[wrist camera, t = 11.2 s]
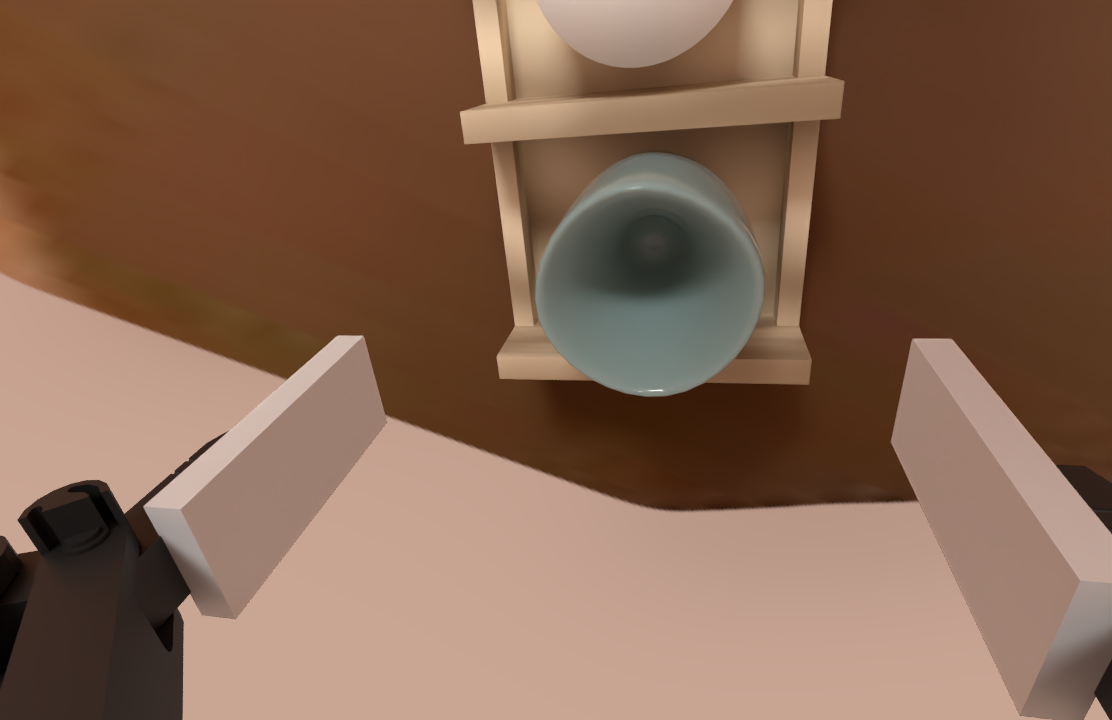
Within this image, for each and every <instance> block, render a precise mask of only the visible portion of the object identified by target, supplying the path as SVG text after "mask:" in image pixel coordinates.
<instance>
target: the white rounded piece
mask: <svg viewBox="0 0 1112 720" xmlns="http://www.w3.org/2000/svg"><path fill="white" fill-rule="evenodd" d="M536 1H537V4H538V6H539V8H540V9H541V11H542V13H543V15H544V17H545V18H546V20H547V21H548V23H549V24H550V26H551V27H552V29H553V30H554V31H555V32H556V33H557V34H558V35H559V36H560V38H561V39H562V40H563V41H564V42H566V43H567V44H568V45H569V46H570V47H572V48H573V49H574V50H575V51H577V52H579V53H580V54H582V55H583V56H585V57H587V58H589V59H592V60H594V61H596V62H598V63H602V64H606V65H609V66H614V67H622V68H639V67H645V66H651V65H655V64H658V63H661V62H665V61H667V60H669V59H672V58H674V57H676V56H678V55H680V54H682V53H683V52H685V51H686V50H688V49H690V48H691V47H693V46H694V45H695V44H696V43H698V42H699V41H700V40H701V39H702V38H704V37H705V36H706V35H707V34H708V33H709V32H710V31H711V30H712V29H713V28H714V27H715V26H716V24H717V23H718V22H719V21H720V19H721V18H722V17H723V15H724V14H725V13H726V11H727V10H728V8H729V7H730V5H731V3H732V2H733V0H536Z"/></svg>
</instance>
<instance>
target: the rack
mask: <svg viewBox="0 0 1112 720" xmlns="http://www.w3.org/2000/svg"><path fill="white" fill-rule="evenodd" d="M832 2H833V0H733V2H732V3H731V5H730V7H729V8H728V10H727V11H726V13H725V14H724V15H723V17H722V18H721V19H720V21H719V22H718V23H717V24H716V26H715V27H714V28H713V29H712V30H711V31H710V32H709V33H708V34H707V35H706V36H705V37H704V38H702V39H701V40H700V41H699V42H698V43H696V44H695V45H694V46H693V47H691V48H690V49H688V50H686V51H685V52H683V53H682V54H680V55H678V56H676V57H674V58H672V59H669V60H667V61H665V62H661V63H658V64H655V65H651V66H645V67H639V68H622V67H614V66H609V65H606V64H602V63H598V62H596V61H594V60H592V59H589V58H587V57H585V56H583V55H582V54H580V53H579V52H577V51H575V50H574V49H573V48H572V47H570V46H569V45H568V44H567V43H566V42H564V41H563V40H562V39H561V38H560V36H559V35H558V34H557V33H556V32H555V31H554V30H553V29H552V27H551V26H550V24H549V23H548V21H547V20H546V18H545V17H544V15H543V13H542V11H541V9H540V8H539V6H538V4H537V1H536V0H473V8H474V15H475V23H476V31H477V38H478V46H479V53H480V61H481V69H482V76H483V84H484V92H485V99H486V104H484V105H481V106H477V107H474V108H471V109H468V110H465V111H462V112H460V116H461V123H462V130H463V136H464V143H465V144H475V143H489V142H491V145H492V153H493V161H494V168H495V176H496V184H497V191H498V199H499V206H500V214H501V222H502V229H503V237H504V245H505V252H506V260H507V268H508V275H509V283H510V291H511V298H512V306H513V314H514V321H515V327H514V329H513V330H512V332H511V334H510V335H509V337H508V339H507V340H506V342H505V344H504V345H503V347H502V349H501V350H500V352H499V353H498V355H497V363H498V370H499V377H500V379H538V380H592V379H590V378H588V377H587V376H585V375H584V374H582V373H581V372H580V371H578V370H577V369H575V368H574V367H573V366H571V365H570V364H569V363H568V362H567V361H566V360H565V359H564V358H563V357H562V356H561V355H560V354H559V353H558V352H557V351H556V350H555V348H554V347H553V345H552V344H551V342H550V341H549V340H548V338H547V337H546V335H545V333H544V331H543V328H542V326H541V324H540V322H539V319H538V315H537V309H536V304H535V286H536V275H537V271H538V268H539V264H540V260H541V256H542V254H543V252H544V249H545V247H546V245H547V243H548V241H549V239H550V237H551V235H552V233H553V231H554V229H555V228H556V226H557V225H558V223H559V222H560V220H561V219H562V218H563V216H564V215H565V213H566V212H567V211H568V209H569V208H570V206H571V205H572V204H573V202H574V201H575V199H576V198H577V197H578V195H579V194H580V193H581V192H582V190H583V189H584V188H585V187H586V186H587V185H588V184H589V183H590V182H591V181H592V180H593V179H594V178H595V177H596V176H597V175H599V174H600V173H601V172H602V171H603V170H605V169H606V168H608V167H609V166H611V165H612V164H614V163H615V162H617V161H618V160H620V159H622V158H625V157H627V156H630V155H633V154H635V153H639V152H647V151H655V150H656V151H666V152H674V153H677V154H680V155H683V156H686V157H689V158H692V159H693V160H695V161H697V162H699V163H701V164H703V165H705V166H706V167H708V168H709V169H710V170H712V171H713V172H714V173H715V174H717V175H718V176H719V177H720V178H722V179H723V180H724V182H725V183H726V184H727V185H728V186H729V187H730V189H731V190H732V191H733V192H734V193H735V195H736V196H737V197H738V199H739V201H740V203H741V205H742V206H743V208H744V210H745V212H746V214H747V216H748V217H749V220H750V222H751V224H752V227H753V230H754V233H755V236H756V239H757V243H758V246H759V250H760V254H761V257H762V261H763V265H764V269H765V299H764V302H763V306H762V310H761V314H760V318H759V321H758V323H757V325H756V327H755V329H754V331H753V333H752V335H751V337H750V339H749V341H748V342H747V343H746V345H745V346H744V347H743V349H742V350H741V351H740V353H739V354H738V355H737V357H736V358H735V359H734V360H733V361H732V362H731V363H729V364H728V365H727V366H726V367H725V368H724V369H723V370H722V371H721V372H720V373H718V374H717V375H715V376H714V377H712V378H711V379H709V380H708V381H707V382H705V383H752V384H805V385H809V379H810V371H811V362H812V359H811V357H810V354H809V351H808V349H807V346H806V343H805V341H804V338H803V335H802V333H801V330H800V327H799V320H800V311H801V301H802V292H803V282H804V272H805V263H806V253H807V243H808V234H809V224H810V214H811V205H812V195H813V185H814V176H815V166H816V157H817V147H818V137H819V128H820V120H825V119H839V118H840V115H841V107H842V98H843V90H844V81H842V80H839V79H835V78H832V77H828V76H825V70H826V60H827V50H828V41H829V31H830V22H831V12H832ZM592 381H594V380H592Z"/></svg>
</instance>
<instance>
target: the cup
mask: <svg viewBox="0 0 1112 720" xmlns="http://www.w3.org/2000/svg"><path fill="white" fill-rule="evenodd" d="M764 299H765V269H764V265H763V261H762V257H761V254H760V250H759V246H758V243H757V239H756V236H755V233H754V230H753V227H752V224H751V222H750V220H749V217H748V216H747V214H746V212H745V210H744V208H743V206H742V205H741V203H740V201H739V199H738V197H737V196H736V195H735V193H734V192H733V191H732V190H731V189H730V187H729V186H728V185H727V184H726V183H725V182H724V180H723V179H722V178H720V177H719V176H718V175H717V174H715V173H714V172H713V171H712V170H710V169H709V168H708V167H706V166H705V165H703V164H701V163H699V162H697V161H695V160H693V159H692V158H689V157H686V156H683V155H680V154H677V153H674V152H666V151H656V150H655V151H647V152H639V153H635V154H633V155H630V156H627V157H625V158H622V159H620V160H618V161H617V162H615V163H614V164H612V165H611V166H609V167H608V168H606V169H605V170H603V171H602V172H601V173H600V174H599V175H597V176H596V177H595V178H594V179H593V180H592V181H591V182H590V183H589V184H588V185H587V186H586V187H585V188H584V189H583V190H582V192H581V193H580V194H579V195H578V197H577V198H576V199H575V201H574V202H573V204H572V205H571V206H570V208H569V209H568V211H567V212H566V213H565V215H564V216H563V218H562V219H561V220H560V222H559V223H558V225H557V226H556V228H555V229H554V231H553V233H552V235H551V237H550V239H549V241H548V243H547V245H546V247H545V249H544V252H543V254H542V256H541V260H540V264H539V268H538V271H537V275H536V286H535V304H536V309H537V315H538V319H539V322H540V324H541V326H542V328H543V331H544V333H545V335H546V337H547V338H548V340H549V341H550V342H551V344H552V345H553V347H554V348H555V350H556V351H557V352H558V353H559V354H560V355H561V356H562V357H563V358H564V359H565V360H566V361H567V362H568V363H569V364H570V365H571V366H573V367H574V368H575V369H577V370H578V371H580V372H581V373H582V374H584V375H585V376H587V377H588V378H590V379H592V380H594V381H596V382H598V383H600V384H602V385H604V386H606V387H608V388H611V389H614V390H617V391H620V392H623V393H626V394H632V395H638V396H644V397H655V396H669V395H673V394H678V393H682V392H686V391H688V390H690V389H692V388H695V387H697V386H699V385H701V384H704V383H705V382H707V381H708V380H709V379H711V378H712V377H714V376H715V375H717V374H718V373H720V372H721V371H722V370H723V369H724V368H725V367H726V366H727V365H728V364H729V363H731V362H732V361H733V360H734V359H735V358H736V357H737V355H738V354H739V353H740V351H741V350H742V349H743V347H744V346H745V345H746V343H747V342H748V341H749V339H750V337H751V335H752V333H753V331H754V329H755V327H756V325H757V323H758V321H759V318H760V314H761V310H762V306H763V302H764Z"/></svg>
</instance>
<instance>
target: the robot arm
mask: <svg viewBox="0 0 1112 720" xmlns="http://www.w3.org/2000/svg"><path fill="white" fill-rule="evenodd" d="M386 423H387V421H386V417H385V413H384V409H383V406H382V402H381V398H380V395H379V391H378V387H377V383H376V380H375V376H374V372H373V369H372V365H371V361H370V358H369V354H368V350H367V346H366V343H365V339H364V336H337V337H336V338H335V339H333V340H332V341H331V342H330V343H329V344H328V345H327V346H325V347H324V348H323V349H322V350H321V351H320V352H319V353H317V354H316V355H315V356H314V357H313V358H312V359H311V360H309V361H308V362H307V363H306V364H305V365H304V366H303V367H301V368H300V369H299V370H298V371H297V372H296V373H295V374H293V375H292V376H291V377H290V378H289V379H288V380H287V381H285V383H283V384H282V385H281V386H280V387H279V388H278V389H276V390H275V391H274V392H273V393H272V394H271V395H270V396H268V397H267V398H266V399H265V400H264V401H263V402H262V403H260V404H259V405H258V406H257V407H256V408H255V409H254V410H252V411H251V412H250V413H249V414H248V415H247V416H246V417H244V419H242V420H241V421H240V422H239V423H238V424H237V425H235V426H234V427H233V428H232V429H231V430H229V431H228V432H226V433H224V434H222V435H220V436H219V437H217V438H215V439H213V440H211V441H210V442H208V443H206V444H205V445H204V446H203V447H202V448H200V449H199V450H198V451H197V452H196V453H195V454H193V455H192V456H191V457H190V458H189V461H188V462H187V461H186V462H184V463H183V464H182V465H181V466H180V467H179V468H177V469H176V470H175V473H174V474H170V475H169V476H168V477H167V478H166V479H165V480H163V481H162V482H161V483H160V484H159V485H158V486H156V487H155V488H154V489H153V490H152V491H151V492H149V493H148V494H147V495H146V496H145V497H144V498H142V499H141V500H140V501H139V502H138V503H137V504H136V505H134V506H133V507H132V508H131V509H130V510H129V511H127V512H126V513H125V514H124V513H123V511H122V509H121V508H120V506H119V504H118V502H117V501H116V499H115V497H114V495H113V493H112V492H111V490H110V488H109V486H108V485H107V483H105V482H102V481H100V480H86V481H81V482H78V483H73V484H69V485H67V486H65V487H62V488H59V489H57V490H54V491H52V492H50V493H49V494H47V495H45V496H43V497H42V498H40V499H38V500H37V501H35V502H34V503H33V504H32V505H30V506H29V507H28V508H27V509H26V510H24V512H23V513H22V514H21V516H20V517H19V519H18V522H19V523H20V524H21V525H22V527H23V529H24V530H25V532H26V533H27V535H28V536H29V538H30V539H31V541H32V542H33V543H34V545H35V546H36V548H37V549H38V551H34V552H27V553H21V554H17V553H16V552H15V550H14V549H13V548H12V546H11V545H10V543H9V542H8V540H7V539H6V538H5V537H3V536H0V720H182V713H183V626H184V625H183V624H184V622H183V619H182V616H181V614H180V612H179V610H178V606H179V605H180V604H181V603H182V602H183V601H184V600H185V599H186V597H187V596H188V595H189V594H191V596H192V598H193V600H194V602H195V603H196V605H197V607H198V609H199V611H200V612H201V614H202V615H205V616H213V617H222V618H230V619H236V618H237V617H238V615H239V614H240V613H241V612H242V611H243V609H244V608H245V607H246V605H247V604H248V603H249V601H250V600H251V599H252V598H253V596H254V595H255V594H256V592H257V591H258V590H259V588H260V587H261V586H262V585H263V583H264V582H265V581H266V579H267V578H268V576H269V575H270V574H271V573H272V571H273V570H274V569H275V567H276V566H277V565H278V564H279V562H280V561H281V560H282V558H283V557H284V556H285V555H286V553H287V552H288V551H289V549H290V548H291V547H292V545H293V544H294V543H295V542H296V540H297V539H298V538H299V536H300V535H301V534H302V532H303V531H304V530H305V528H306V527H307V526H308V525H309V523H310V522H311V521H312V519H313V518H314V517H315V516H316V514H317V513H318V512H319V510H320V509H321V508H322V506H323V505H324V504H325V503H326V501H327V500H328V499H329V497H330V496H331V495H332V493H333V492H334V491H335V490H336V488H337V487H338V485H339V484H340V483H341V482H342V480H343V479H344V478H345V476H346V475H347V474H348V473H349V471H350V470H351V469H352V467H353V466H354V465H355V463H356V462H357V461H358V460H359V458H360V457H361V456H362V454H363V453H364V452H365V450H366V449H367V448H368V447H369V445H370V444H371V443H372V441H373V440H374V439H375V437H376V436H377V435H378V434H379V432H380V431H381V430H382V428H383V427H384V426H385V424H386ZM891 443H892V446H893V448H894V450H895V452H896V454H897V456H898V458H899V460H900V463H901V465H902V467H903V469H904V471H905V473H906V475H907V477H908V479H909V482H910V484H911V486H912V488H913V490H914V492H915V494H916V496H917V499H918V501H919V503H920V505H921V507H922V509H923V511H924V513H925V516H926V518H927V520H928V522H929V524H930V526H931V528H932V530H933V532H934V535H935V537H936V539H937V541H938V543H939V545H940V547H941V549H942V552H943V554H944V556H945V558H946V560H947V562H948V564H949V566H950V568H951V571H952V573H953V575H954V577H955V579H956V581H957V583H958V586H959V588H960V590H961V592H962V594H963V596H964V598H965V600H966V603H967V605H968V607H969V609H970V611H971V613H972V615H973V617H974V620H975V622H976V624H977V626H978V628H979V630H980V632H981V634H982V636H983V639H984V641H985V643H986V645H987V647H988V649H989V651H990V653H991V656H992V658H993V660H994V662H995V664H996V666H997V668H998V670H999V672H1000V674H1001V676H1002V679H1003V681H1004V683H1005V685H1006V687H1007V690H1008V692H1009V694H1010V696H1011V698H1012V700H1013V702H1014V704H1015V706H1016V709H1017V711H1018V713H1019V715H1020V716H1027V717H1036V718H1043V719H1052V720H1084V718H1085V716H1086V714H1087V712H1088V710H1089V708H1090V706H1091V705H1092V703H1093V701H1094V699H1095V697H1097V699H1098V701H1099V702H1100V704H1101V706H1102V707H1103V709H1104V711H1105V712H1106V714H1107V716H1108V717H1109V719H1110V720H1112V483H1110V482H1109V481H1107V480H1106V479H1104V478H1103V477H1101V476H1099V475H1098V474H1096V473H1095V472H1093V471H1092V470H1090V469H1088V468H1087V467H1085V466H1072V465H1055V464H1054V463H1053V462H1052V461H1051V459H1050V458H1049V457H1048V456H1047V455H1046V453H1045V452H1044V451H1043V450H1042V448H1041V447H1040V446H1039V445H1038V444H1037V442H1036V441H1035V440H1034V439H1033V437H1032V436H1031V435H1030V434H1029V433H1028V431H1027V430H1026V429H1025V428H1024V426H1023V425H1022V424H1021V423H1020V422H1019V420H1018V419H1017V418H1016V417H1015V415H1014V414H1013V413H1012V412H1011V411H1010V409H1009V408H1008V407H1007V406H1006V404H1005V403H1004V402H1003V401H1002V400H1001V398H1000V397H999V396H998V395H997V393H996V392H995V391H994V390H993V389H992V387H991V386H990V385H989V384H988V382H987V381H986V380H985V379H984V378H983V376H982V375H981V374H980V373H979V371H978V370H977V369H976V368H975V367H974V365H973V364H972V363H971V362H970V360H969V359H968V358H967V357H966V356H965V354H964V353H963V352H962V351H961V349H960V348H959V347H958V346H957V345H956V343H955V342H954V341H953V340H952V339H912V342H911V347H910V352H909V357H908V362H907V366H906V371H905V376H904V381H903V386H902V390H901V395H900V400H899V405H898V410H897V415H896V419H895V424H894V429H893V434H892V439H891Z"/></svg>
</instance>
